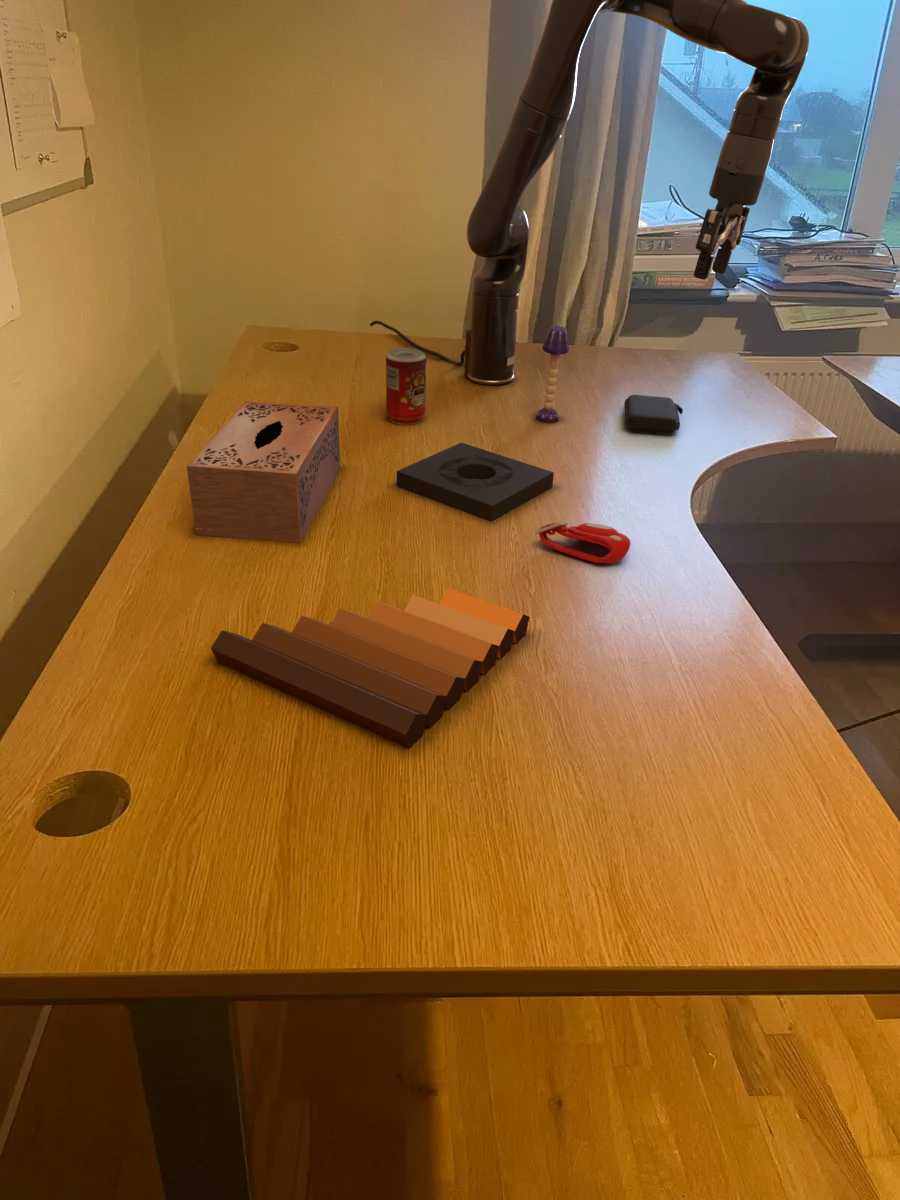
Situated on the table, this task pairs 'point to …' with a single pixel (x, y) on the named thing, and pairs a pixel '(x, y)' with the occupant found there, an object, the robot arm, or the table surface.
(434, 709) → the brown ridged flat slab
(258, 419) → the tissue box cover
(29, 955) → the table surface
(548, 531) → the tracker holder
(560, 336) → the toy lamp
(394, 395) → the soda can
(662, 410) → the carrying case
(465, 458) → the socket pad
